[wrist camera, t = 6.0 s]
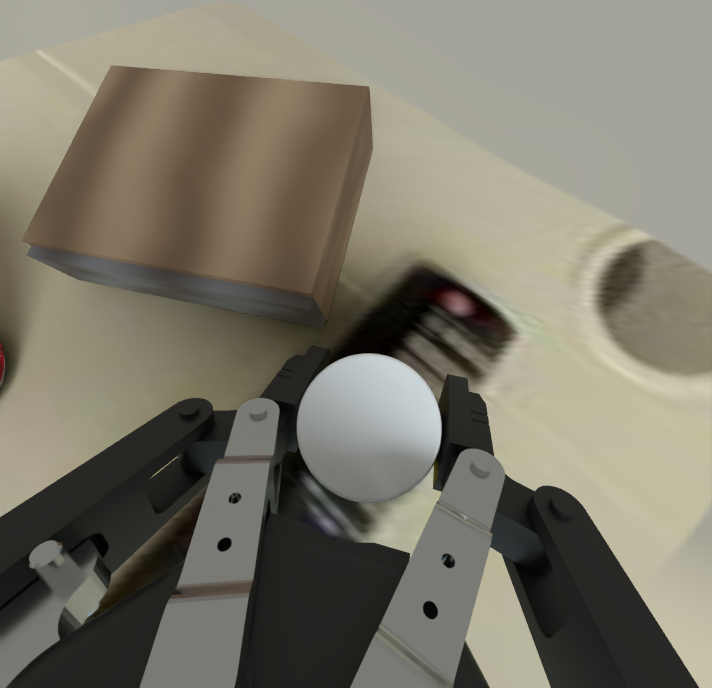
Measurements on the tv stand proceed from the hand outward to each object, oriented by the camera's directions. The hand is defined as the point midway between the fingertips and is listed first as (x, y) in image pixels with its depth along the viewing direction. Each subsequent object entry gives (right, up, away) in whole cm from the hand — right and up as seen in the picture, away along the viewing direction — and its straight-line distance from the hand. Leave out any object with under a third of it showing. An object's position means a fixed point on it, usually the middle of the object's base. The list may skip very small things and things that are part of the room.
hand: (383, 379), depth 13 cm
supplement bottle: (0, -3, +4) cm, 5 cm away
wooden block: (-9, +10, +8) cm, 16 cm away
